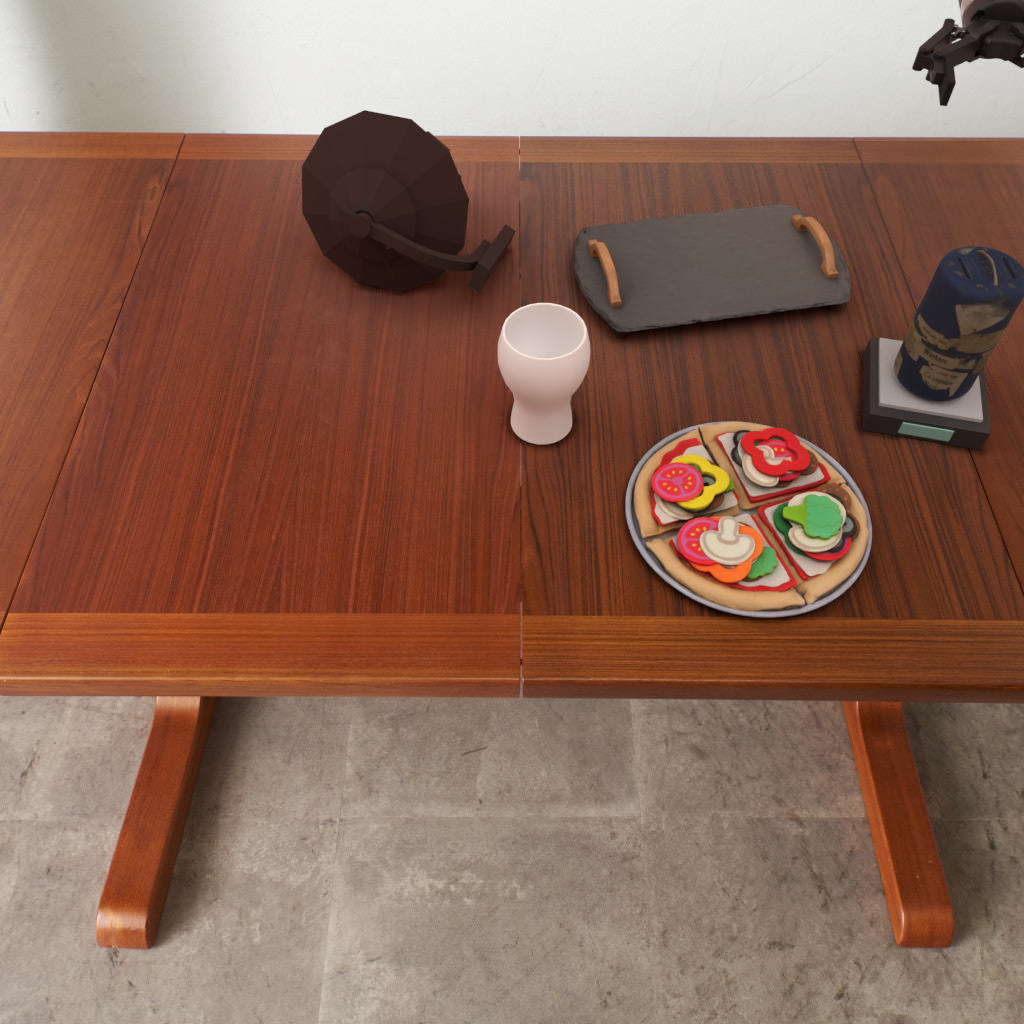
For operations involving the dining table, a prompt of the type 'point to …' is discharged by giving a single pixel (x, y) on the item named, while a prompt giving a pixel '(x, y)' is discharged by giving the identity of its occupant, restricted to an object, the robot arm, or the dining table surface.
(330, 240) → the dark brown piece
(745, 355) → the dining table surface
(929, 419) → the scale
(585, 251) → the serving tray
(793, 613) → the toy pizza
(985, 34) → the robot arm
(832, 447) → the dining table surface
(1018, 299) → the canister
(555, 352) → the cup
